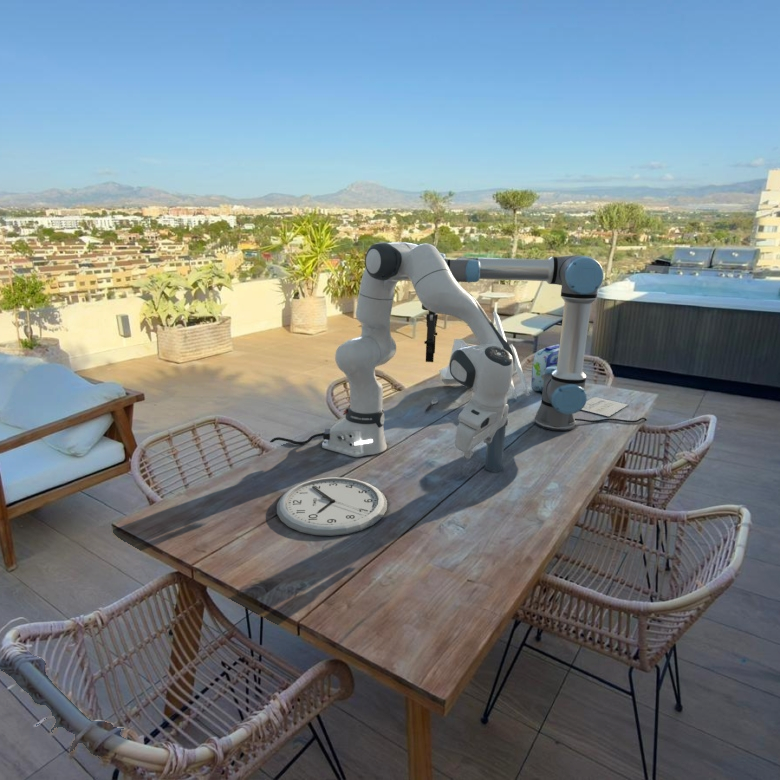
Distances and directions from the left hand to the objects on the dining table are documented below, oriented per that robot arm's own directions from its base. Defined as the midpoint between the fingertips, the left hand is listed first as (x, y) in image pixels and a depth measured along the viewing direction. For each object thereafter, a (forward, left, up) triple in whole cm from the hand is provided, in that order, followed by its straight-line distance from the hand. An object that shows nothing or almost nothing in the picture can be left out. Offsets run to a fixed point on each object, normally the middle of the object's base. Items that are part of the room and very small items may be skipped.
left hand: (477, 449), depth 143 cm
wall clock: (-36, -18, -15) cm, 43 cm away
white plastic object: (-18, +101, -15) cm, 103 cm away
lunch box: (+13, +119, -15) cm, 121 cm away
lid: (+2, +22, +1) cm, 22 cm away
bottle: (+2, +22, -15) cm, 27 cm away
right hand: (-27, +47, +13) cm, 55 cm away
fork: (-33, +72, -15) cm, 81 cm away
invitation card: (+35, +101, -15) cm, 108 cm away
